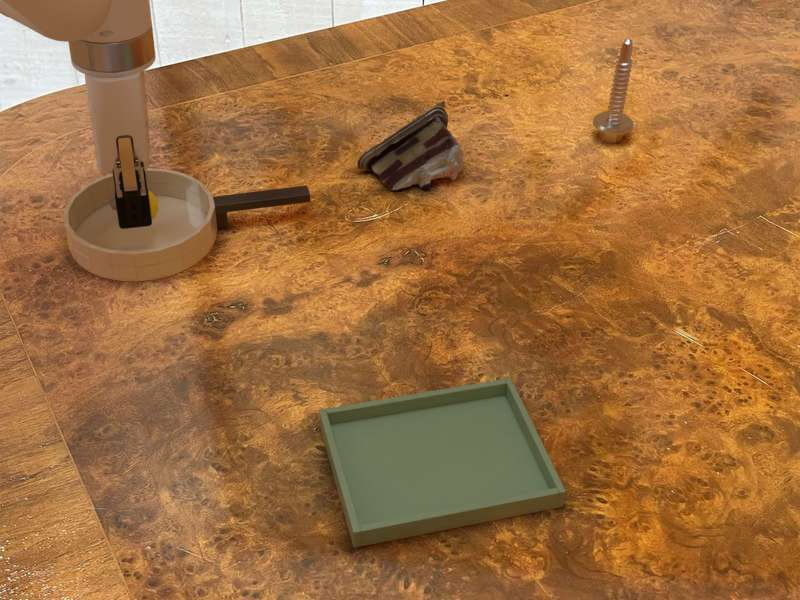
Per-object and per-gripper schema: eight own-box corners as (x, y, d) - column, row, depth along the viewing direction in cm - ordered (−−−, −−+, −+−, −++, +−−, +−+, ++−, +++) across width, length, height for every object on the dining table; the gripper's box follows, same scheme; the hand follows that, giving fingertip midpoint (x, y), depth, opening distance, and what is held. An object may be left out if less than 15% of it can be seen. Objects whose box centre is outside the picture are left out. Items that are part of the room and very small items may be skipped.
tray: (353, 548, 82) (353, 532, 80) (319, 424, 91) (318, 409, 90) (563, 506, 85) (566, 491, 84) (508, 392, 95) (511, 377, 94)
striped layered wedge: (381, 208, 117) (462, 133, 113) (350, 163, 120) (427, 89, 116) (422, 227, 125) (498, 158, 121) (392, 185, 128) (465, 116, 124)
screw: (621, 125, 131) (637, 145, 127) (584, 129, 130) (599, 150, 127) (640, 27, 123) (657, 46, 119) (600, 30, 122) (616, 49, 118)
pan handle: (217, 231, 112) (214, 206, 110) (215, 222, 113) (212, 196, 111) (311, 219, 114) (310, 194, 112) (307, 210, 115) (307, 184, 113)
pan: (71, 291, 104) (65, 262, 102) (67, 204, 115) (62, 177, 113) (225, 270, 107) (223, 242, 105) (207, 187, 118) (204, 161, 116)
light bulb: (152, 232, 107) (134, 206, 104) (112, 226, 110) (93, 202, 108) (171, 208, 109) (153, 182, 106) (130, 203, 112) (112, 178, 109)
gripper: (66, 8, 102) (92, 170, 114) (71, 91, 90) (99, 264, 101) (146, 3, 104) (164, 164, 115) (162, 84, 91) (179, 255, 103)
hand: (133, 209), depth 108 cm, fingers closed on light bulb, 4 cm apart
